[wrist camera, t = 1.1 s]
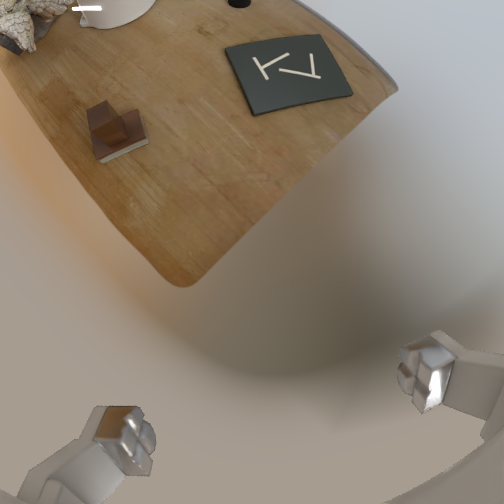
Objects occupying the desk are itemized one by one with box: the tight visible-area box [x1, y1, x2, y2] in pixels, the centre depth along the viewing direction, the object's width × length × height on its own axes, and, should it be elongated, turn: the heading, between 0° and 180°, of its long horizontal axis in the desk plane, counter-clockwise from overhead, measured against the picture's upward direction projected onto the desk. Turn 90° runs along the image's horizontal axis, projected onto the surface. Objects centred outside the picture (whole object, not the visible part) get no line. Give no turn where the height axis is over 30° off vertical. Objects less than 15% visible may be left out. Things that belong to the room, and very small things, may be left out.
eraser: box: [86, 100, 150, 163], centre depth 32 cm, size 5×8×10 cm, turn 112°
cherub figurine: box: [0, 0, 75, 56], centre depth 21 cm, size 18×18×18 cm
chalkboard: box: [225, 34, 354, 116], centre depth 39 cm, size 14×18×1 cm
